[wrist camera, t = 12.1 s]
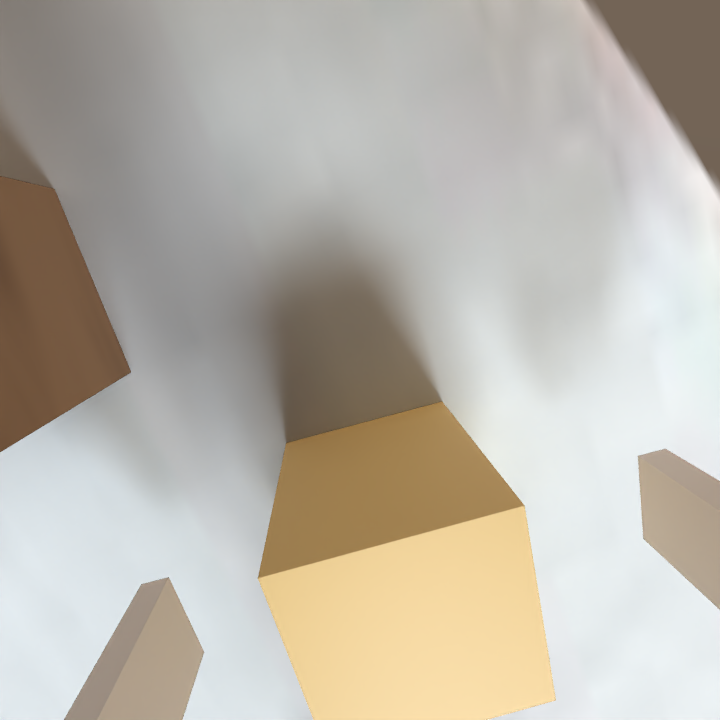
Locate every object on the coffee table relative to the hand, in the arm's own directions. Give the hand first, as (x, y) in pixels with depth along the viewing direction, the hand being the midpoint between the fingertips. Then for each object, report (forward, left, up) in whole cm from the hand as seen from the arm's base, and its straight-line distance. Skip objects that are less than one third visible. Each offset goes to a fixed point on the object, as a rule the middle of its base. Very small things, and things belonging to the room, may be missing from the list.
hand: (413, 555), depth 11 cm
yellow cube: (0, 0, -4) cm, 4 cm away
